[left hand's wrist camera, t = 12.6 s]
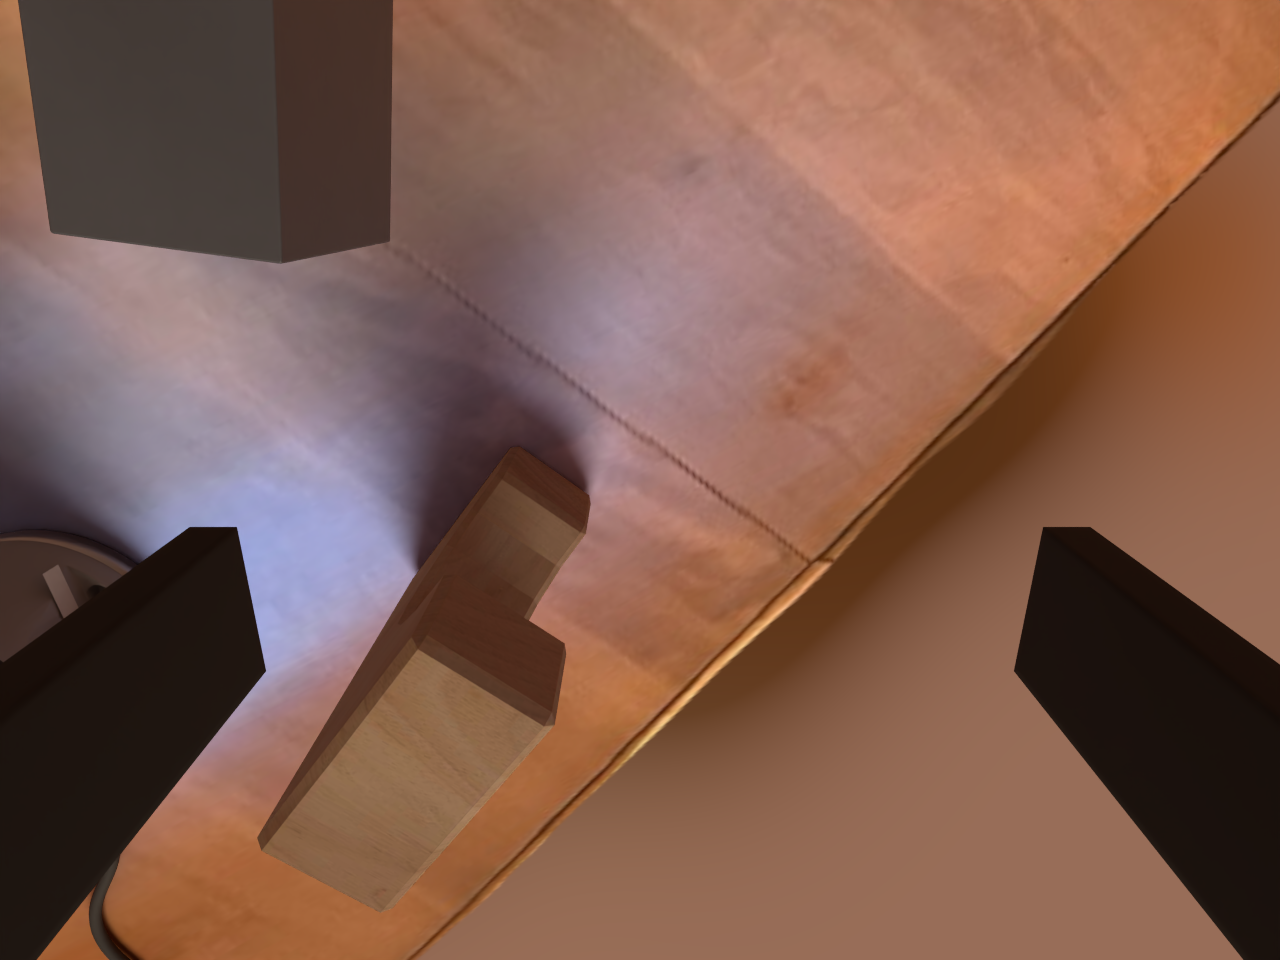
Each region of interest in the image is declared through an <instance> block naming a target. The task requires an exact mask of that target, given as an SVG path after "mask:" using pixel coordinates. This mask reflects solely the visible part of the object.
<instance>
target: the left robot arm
mask: <svg viewBox="0 0 1280 960" xmlns="http://www.w3.org/2000/svg"><path fill="white" fill-rule="evenodd" d="M265 672H266V669H265V664H264V659H263V654H262V649H261V644H260V639H259V634H258V629H257V624H256V619H255V614H254V609H253V604H252V600H251V595H250V590H249V585H248V580H247V575H246V570H245V565H244V560H243V555H242V550H241V545H240V540H239V535H238V531H237V527H189V528H188V529H186V530H185V531H184V532H182V533H181V534H180V535H178V536H177V537H175V538H174V539H173V540H171V541H170V542H169V543H167V544H166V545H164V546H163V547H162V548H160V549H159V550H158V551H156V552H155V553H153V554H152V555H151V556H149V557H148V558H146V559H145V560H144V561H142V562H141V563H140V564H138V565H137V564H136V563H134V562H133V561H131V560H130V559H128V558H127V557H125V556H123V555H122V554H120V553H118V552H116V551H115V550H113V549H111V548H108V547H106V546H104V545H102V544H100V543H97V542H95V541H92V540H89V539H87V538H83V537H80V536H76V535H73V534H68V533H63V532H57V531H49V530H21V531H14V532H9V533H4V534H0V960H37V958H38V957H39V956H40V955H41V953H42V952H43V951H44V950H45V948H46V947H47V946H48V945H49V943H50V942H51V941H52V940H53V938H54V937H55V936H56V935H57V933H58V932H59V931H60V930H61V928H62V927H63V926H64V924H65V923H66V922H67V921H68V919H69V918H70V917H71V916H72V914H73V913H74V912H75V911H76V909H77V908H78V907H79V906H80V904H81V903H82V902H83V901H84V899H85V898H86V897H87V896H88V894H89V893H90V892H91V891H92V889H93V888H94V887H95V886H96V884H97V883H98V884H97V886H96V888H95V890H94V893H93V896H92V899H91V902H90V907H89V922H90V928H91V932H92V935H93V937H94V939H95V941H96V943H97V945H98V946H99V948H100V949H101V951H102V952H103V953H104V954H105V955H106V957H107V958H108V959H109V960H130V959H129V958H128V957H127V956H126V955H125V954H123V953H122V951H121V950H120V949H119V948H118V947H117V946H116V945H115V944H114V943H113V941H112V940H111V938H110V937H109V935H108V934H107V931H106V929H105V927H104V924H103V920H102V906H103V901H104V898H105V895H106V893H107V890H108V888H109V886H110V883H111V881H112V879H113V877H114V875H115V872H116V869H117V866H118V862H119V857H120V854H121V853H122V852H123V850H124V849H125V848H126V847H127V845H128V844H129V843H130V841H131V840H132V839H133V838H134V836H135V835H136V834H137V833H138V831H139V830H140V829H141V828H142V826H143V825H144V824H145V823H146V821H147V820H148V819H149V818H150V816H151V815H152V814H153V813H154V811H155V810H156V809H157V808H158V806H159V805H160V804H161V802H162V801H163V800H164V799H165V797H166V796H167V795H168V794H169V792H170V791H171V790H172V789H173V787H174V786H175V785H176V784H177V782H178V781H179V780H180V779H181V777H182V776H183V775H184V774H185V772H186V771H187V770H188V769H189V767H190V766H191V765H192V763H193V762H194V761H195V760H196V758H197V757H198V756H199V755H200V753H201V752H202V751H203V750H204V748H205V747H206V746H207V745H208V743H209V742H210V741H211V740H212V738H213V737H214V736H215V735H216V733H217V732H218V731H219V730H220V728H221V727H222V726H223V725H224V723H225V722H226V721H227V719H228V718H229V717H230V716H231V714H232V713H233V712H234V711H235V709H236V708H237V707H238V706H239V704H240V703H241V702H242V701H243V699H244V698H245V697H246V696H247V694H248V693H249V692H250V691H251V689H252V688H253V687H254V686H255V684H256V683H257V682H258V680H259V679H260V678H261V677H262V675H263V674H264V673H265ZM1014 672H1015V673H1016V674H1017V675H1018V677H1019V678H1020V679H1021V680H1022V682H1023V683H1024V684H1025V685H1026V687H1027V688H1028V689H1029V691H1030V692H1031V693H1032V694H1033V696H1034V697H1035V698H1036V699H1037V701H1038V702H1039V703H1040V704H1041V706H1042V707H1043V708H1044V709H1045V711H1046V712H1047V713H1048V714H1049V716H1050V717H1051V718H1052V719H1053V721H1054V722H1055V723H1056V725H1057V726H1058V727H1059V728H1060V730H1061V731H1062V732H1063V733H1064V735H1065V736H1066V737H1067V738H1068V740H1069V741H1070V742H1071V743H1072V745H1073V746H1074V747H1075V748H1076V750H1077V751H1078V752H1079V753H1080V755H1081V756H1082V757H1083V758H1084V760H1085V761H1086V762H1087V763H1088V765H1089V766H1090V767H1091V769H1092V770H1093V771H1094V772H1095V774H1096V775H1097V776H1098V777H1099V779H1100V780H1101V781H1102V782H1103V784H1104V785H1105V786H1106V787H1107V789H1108V790H1109V791H1110V792H1111V794H1112V795H1113V796H1114V797H1115V799H1116V800H1117V801H1118V802H1119V804H1120V805H1121V806H1122V807H1123V809H1124V810H1125V811H1126V813H1127V814H1128V815H1129V816H1130V818H1131V819H1132V820H1133V821H1134V823H1135V824H1136V825H1137V826H1138V828H1139V829H1140V830H1141V831H1142V833H1143V834H1144V835H1145V836H1146V838H1147V839H1148V840H1149V841H1150V843H1151V844H1152V845H1153V846H1154V848H1155V849H1156V850H1157V852H1158V853H1159V854H1160V855H1161V857H1162V858H1163V859H1164V860H1165V862H1166V863H1167V864H1168V865H1169V867H1170V868H1171V869H1172V870H1173V872H1174V873H1175V874H1176V875H1177V877H1178V878H1179V879H1180V880H1181V882H1182V883H1183V884H1184V886H1185V887H1186V888H1187V889H1188V891H1189V892H1190V893H1191V894H1192V896H1193V897H1194V898H1195V899H1196V901H1197V902H1198V903H1199V904H1200V906H1201V907H1202V908H1203V909H1204V911H1205V912H1206V913H1207V914H1208V916H1209V917H1210V918H1211V919H1212V921H1213V922H1214V923H1215V924H1216V926H1217V927H1218V928H1219V930H1220V931H1221V932H1222V933H1223V935H1224V936H1225V937H1226V938H1227V940H1228V941H1229V942H1230V943H1231V945H1232V946H1233V947H1234V948H1235V950H1236V951H1237V952H1238V953H1239V955H1240V956H1241V957H1242V958H1243V960H1280V664H1278V663H1277V662H1276V661H1274V660H1273V659H1271V658H1270V657H1269V656H1267V655H1266V654H1265V653H1263V652H1262V651H1260V650H1259V649H1258V648H1256V647H1255V646H1253V645H1252V644H1251V643H1249V642H1248V641H1247V640H1245V639H1244V638H1242V637H1241V636H1240V635H1238V634H1237V633H1236V632H1234V631H1233V630H1231V629H1230V628H1229V627H1227V626H1226V625H1225V624H1223V623H1222V622H1220V621H1219V620H1218V619H1216V618H1215V617H1213V616H1212V615H1211V614H1209V613H1208V612H1207V611H1205V610H1204V609H1202V608H1201V607H1200V606H1198V605H1197V604H1196V603H1194V602H1193V601H1191V600H1190V599H1189V598H1187V597H1186V596H1185V595H1183V594H1182V593H1180V592H1179V591H1178V590H1176V589H1175V588H1174V587H1172V586H1171V585H1169V584H1168V583H1167V582H1165V581H1164V580H1162V579H1161V578H1160V577H1158V576H1157V575H1156V574H1154V573H1153V572H1151V571H1150V570H1149V569H1147V568H1146V567H1144V566H1143V565H1142V564H1140V563H1139V562H1138V561H1136V560H1135V559H1133V558H1132V557H1131V556H1129V555H1128V554H1127V553H1125V552H1124V551H1122V550H1121V549H1120V548H1118V547H1117V546H1116V545H1114V544H1113V543H1111V542H1110V541H1109V540H1107V539H1106V538H1104V537H1103V536H1102V535H1100V534H1099V533H1098V532H1096V531H1095V530H1094V529H1092V528H1091V527H1043V531H1042V535H1041V541H1040V545H1039V550H1038V555H1037V560H1036V565H1035V570H1034V575H1033V580H1032V585H1031V590H1030V595H1029V600H1028V604H1027V609H1026V614H1025V619H1024V624H1023V629H1022V634H1021V639H1020V644H1019V649H1018V654H1017V659H1016V664H1015V669H1014Z"/></svg>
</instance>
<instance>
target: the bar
mask: <svg viewBox="0 0 1280 960" xmlns="http://www.w3.org/2000/svg"><path fill="white" fill-rule="evenodd" d="M18 3H19V11H20V18H21V25H22V32H23V39H24V46H25V53H26V60H27V68H28V75H29V82H30V89H31V96H32V103H33V110H34V117H35V125H36V132H37V139H38V146H39V153H40V160H41V167H42V174H43V182H44V189H45V196H46V203H47V210H48V217H49V224H50V231H51V232H52V233H54V234H61V235H69V236H76V237H84V238H91V239H99V240H106V241H114V242H121V243H129V244H136V245H144V246H151V247H159V248H166V249H174V250H181V251H189V252H196V253H204V254H211V255H219V256H226V257H234V258H241V259H249V260H256V261H264V262H272V263H279V264H282V263H287V262H292V261H296V260H301V259H306V258H311V257H316V256H321V255H326V254H331V253H336V252H341V251H346V250H351V249H356V248H361V247H366V246H371V245H375V244H380V243H385V242H389V241H390V189H391V109H392V29H393V0H18Z"/></svg>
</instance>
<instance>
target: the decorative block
mask: <svg viewBox="0 0 1280 960" xmlns="http://www.w3.org/2000/svg"><path fill="white" fill-rule="evenodd" d="M590 504H591V503H590V497H589V495H588V494H586V493H585V492H584V491H582V490H581V489H579V488H578V487H577V486H575V485H574V484H572V483H571V482H569V481H568V480H567V479H565V478H564V477H562V476H561V475H559V474H558V473H557V472H555V471H554V470H552V469H551V468H550V467H548V466H547V465H545V464H544V463H542V462H541V461H540V460H538V459H537V458H535V457H534V456H532V455H531V454H530V453H528V452H527V451H525V450H524V449H523V448H521V447H520V446H519V447H511V448H510V449H509V450H508V452H507V453H506V454H505V456H504V457H503V458H502V460H501V461H500V462H499V464H498V465H497V466H496V468H495V469H494V470H493V472H492V473H491V475H490V476H489V477H488V479H487V480H486V481H485V483H484V484H483V485H482V487H481V488H480V489H479V491H478V492H477V493H476V495H475V496H474V497H473V499H472V500H471V501H470V503H469V504H468V505H467V507H466V508H465V509H464V511H463V512H462V513H461V515H460V516H459V517H458V519H457V520H456V521H455V523H454V524H453V525H452V527H451V528H450V530H449V531H448V532H447V534H446V535H445V536H444V538H443V539H442V540H441V542H440V543H439V544H438V546H437V547H436V548H435V550H434V551H433V552H432V554H431V555H430V556H429V558H428V559H427V560H426V562H425V563H424V564H423V566H422V567H421V568H420V570H419V571H418V572H417V574H416V575H415V576H414V578H413V579H412V581H411V583H410V584H409V586H408V588H407V589H406V591H405V593H404V594H403V596H402V598H401V599H400V601H399V603H398V604H397V606H396V608H395V609H394V611H393V613H392V614H391V616H390V617H389V619H388V621H387V622H386V624H385V626H384V627H383V629H382V631H381V632H380V634H379V636H378V637H377V639H376V641H375V642H374V644H373V646H372V647H371V649H370V651H369V652H368V654H367V656H366V657H365V659H364V661H363V662H362V664H361V666H360V667H359V669H358V671H357V672H356V674H355V676H354V677H353V679H352V681H351V682H350V684H349V686H348V687H347V689H346V691H345V692H344V694H343V696H342V697H341V699H340V701H339V702H338V704H337V706H336V707H335V709H334V711H333V712H332V714H331V716H330V717H329V719H328V721H327V722H326V724H325V726H324V727H323V729H322V731H321V732H320V734H319V736H318V737H317V739H316V741H315V742H314V744H313V746H312V747H311V749H310V751H309V752H308V754H307V756H306V757H305V759H304V761H303V762H302V764H301V766H300V767H299V769H298V771H297V772H296V774H295V776H294V777H293V779H292V781H291V782H290V784H289V786H288V787H287V789H286V791H285V792H284V794H283V796H282V797H281V799H280V801H279V802H278V804H277V806H276V807H275V809H274V811H273V812H272V814H271V816H270V817H269V819H268V821H267V822H266V824H265V826H264V827H263V829H262V831H261V832H260V834H259V836H258V837H257V838H258V841H259V844H260V847H261V850H262V851H263V852H265V853H267V854H269V855H271V856H273V857H275V858H277V859H278V860H280V861H282V862H284V863H286V864H288V865H290V866H292V867H294V868H296V869H298V870H300V871H302V872H303V873H305V874H307V875H309V876H311V877H313V878H315V879H317V880H319V881H321V882H323V883H325V884H327V885H328V886H330V887H332V888H334V889H336V890H338V891H340V892H342V893H344V894H346V895H348V896H350V897H352V898H353V899H355V900H357V901H359V902H361V903H363V904H365V905H367V906H369V907H371V908H373V909H375V910H376V911H378V912H380V913H381V912H384V911H386V910H389V909H392V908H393V907H394V906H395V905H396V904H397V902H398V901H399V900H400V899H401V898H402V897H403V896H404V895H405V893H406V892H407V891H408V890H409V889H410V888H411V887H412V886H413V884H414V883H415V882H416V881H417V880H418V879H419V878H420V877H421V875H422V874H423V873H424V872H425V871H426V870H427V869H428V868H429V866H430V865H431V864H432V863H433V862H434V861H435V860H436V859H437V857H438V856H439V855H440V854H441V853H442V852H443V851H444V850H445V848H446V847H447V846H448V845H449V844H450V843H451V842H452V841H453V839H454V838H455V837H456V836H457V835H458V834H459V833H460V832H461V830H462V829H463V828H464V827H465V826H466V825H467V824H468V823H469V821H470V820H471V819H472V818H473V817H474V816H475V815H476V814H477V812H478V811H479V810H480V809H481V808H482V807H483V806H484V804H485V803H486V802H487V801H488V800H489V799H490V798H491V797H492V795H493V794H494V793H495V792H496V791H497V790H498V789H499V787H500V786H501V785H502V784H503V783H504V782H505V781H506V779H507V778H508V777H509V776H510V775H511V774H512V773H513V772H514V770H515V769H516V768H517V767H518V766H519V765H520V764H521V762H522V761H523V760H524V759H525V758H526V757H527V756H528V755H529V753H530V752H531V751H532V750H533V749H534V748H535V747H536V745H537V744H538V743H539V742H540V741H541V740H542V739H543V738H544V736H545V735H546V734H547V733H548V732H549V731H550V730H551V728H552V727H553V726H554V725H555V719H556V713H557V707H558V701H559V694H560V688H561V682H562V676H563V670H564V664H565V658H566V650H565V644H564V643H563V642H561V641H560V640H558V639H557V638H555V637H554V636H552V635H550V634H549V633H547V632H546V631H544V630H543V629H541V628H540V627H538V626H536V625H535V624H533V623H532V622H530V621H529V619H530V617H531V615H532V614H533V612H534V610H535V608H536V606H537V604H538V603H539V601H540V600H541V598H542V596H543V595H544V593H545V592H546V590H547V588H548V587H549V585H550V584H551V582H552V580H553V579H554V577H555V576H556V574H557V572H558V571H559V569H560V568H561V566H562V565H563V564H564V562H565V561H566V560H567V558H568V557H569V556H570V554H571V553H572V552H573V550H574V549H575V548H576V546H577V545H578V544H579V542H580V541H581V539H582V538H583V537H584V535H585V534H586V529H587V523H588V517H589V510H590Z"/></svg>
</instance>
